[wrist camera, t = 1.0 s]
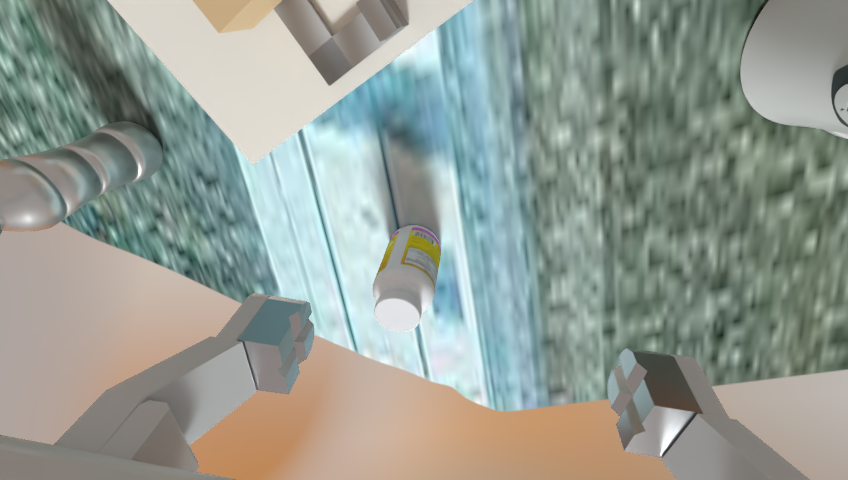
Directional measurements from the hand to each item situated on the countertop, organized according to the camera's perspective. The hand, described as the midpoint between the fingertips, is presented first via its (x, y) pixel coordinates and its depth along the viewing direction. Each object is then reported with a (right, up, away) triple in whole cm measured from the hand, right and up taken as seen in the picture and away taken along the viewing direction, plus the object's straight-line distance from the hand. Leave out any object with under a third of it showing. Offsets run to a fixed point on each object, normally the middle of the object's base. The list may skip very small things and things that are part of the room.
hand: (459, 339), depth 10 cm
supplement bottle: (-2, +2, +39) cm, 39 cm away
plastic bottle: (-35, +14, +36) cm, 52 cm away
